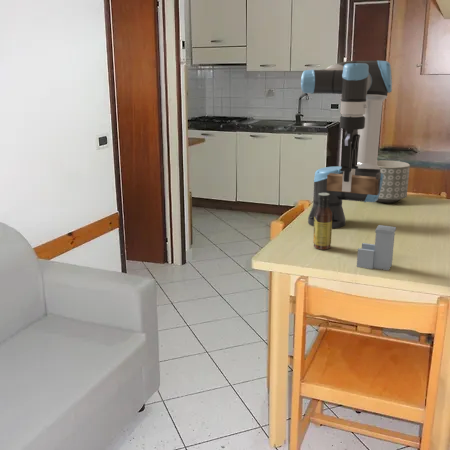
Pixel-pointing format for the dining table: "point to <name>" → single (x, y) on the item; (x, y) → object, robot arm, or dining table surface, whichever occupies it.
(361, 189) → the rail
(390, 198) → the planter
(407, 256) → the dining table surface
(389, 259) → the grey notched block
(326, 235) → the sauce bottle
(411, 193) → the dining table surface
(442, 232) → the dining table surface
